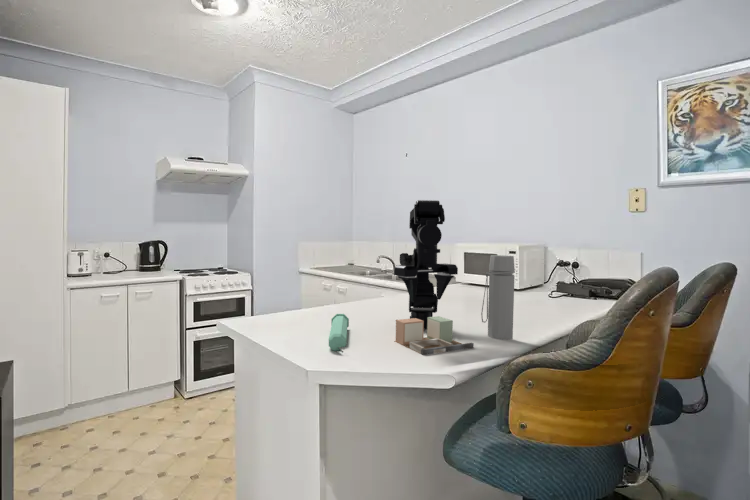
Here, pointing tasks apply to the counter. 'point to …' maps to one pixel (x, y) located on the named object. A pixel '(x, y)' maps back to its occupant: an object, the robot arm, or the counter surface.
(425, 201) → the robot arm
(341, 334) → the container
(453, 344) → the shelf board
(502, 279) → the water bottle
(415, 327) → the rust box
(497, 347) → the counter surface
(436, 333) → the tea box
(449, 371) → the counter surface
